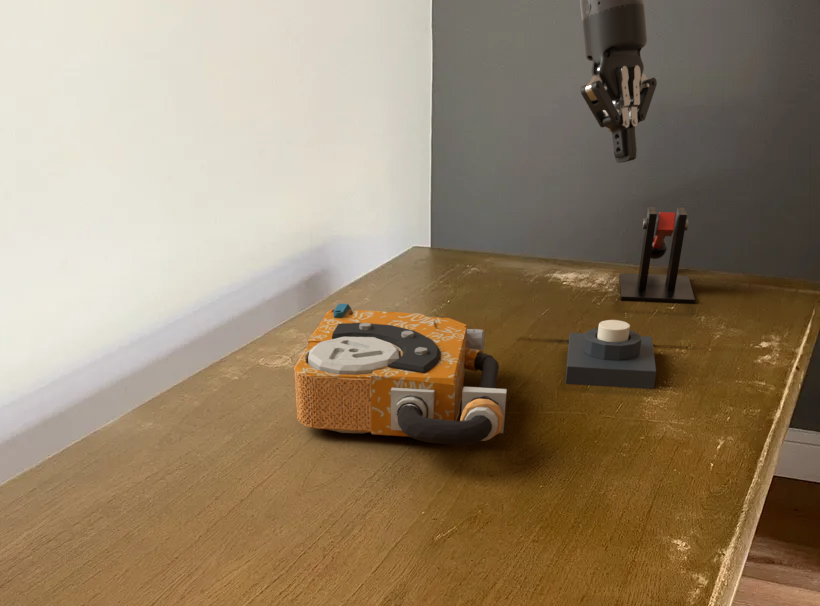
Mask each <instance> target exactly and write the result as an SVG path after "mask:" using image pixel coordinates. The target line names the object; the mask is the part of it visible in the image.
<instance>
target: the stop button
mask: <svg viewBox="0 0 820 606" xmlns="http://www.w3.org/2000/svg"><path fill="white" fill-rule="evenodd" d="M597 328H598V335H597V338H598V339H599V340H603V341H607V342H624V341H628V337H629V330H631V324H629V322H626V321H624V320H623V321H622V320H619V319H606V320H602V321H600V322H599V323H598V327H597Z"/></svg>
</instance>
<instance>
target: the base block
mask: <svg viewBox="0 0 820 606" xmlns="http://www.w3.org/2000/svg"><path fill="white" fill-rule="evenodd" d="M597 335H598V327H594V328H591V329H590V330H587V331H585V332H569V337H568V346H567V355H566V356H567V357H566V371H565V385H579V386H595V387H596V386H597V387H612V388H613V387H615V388H632V389H648V390H649V389H650V390H654V389H655V383H656V377H657V365H656V359H655V358H656V357H655V350H654V343H653V337H652V336H648V335H647V336H645V335H641V334H639V333H638V332H636V331H634V330H631V329H630V330H629V337H628V341H624V342H607V341H603V340H599V339H598V338H597Z"/></svg>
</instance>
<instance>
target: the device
mask: <svg viewBox="0 0 820 606" xmlns="http://www.w3.org/2000/svg"><path fill="white" fill-rule="evenodd" d="M485 333H486V331H485V330H484V329H479V328H468V324H467V323H463V322H461V321H459V320H455V319H453V318H451V317H436V316H426V315H425V314H423V313H416V312H415V313H414V312H399V311H383V310H381V311H380V310H366V309H365V310H361V309H354V311H353V310H352V307H351V306H350V304H349V303H341V302H340V303H337V305H336V307H335V308H334V309H329V310H328V311H327V312H326V313H325V315H324V317H323V319H322V320H321V321H320V323H319V324H318V326H317V328H316V329H315V330H314V331H313V333H312V334H311V336H310V337H309V339H308V340H307V346H306V348H305V349H304V351H303V353H302V354H301V356H300V357H299V359H298V360H297V362H296V363H295V366H294V367H293V368H294V369H293V370H294V371H293V372H294V385H295V386H294V387H295V404H296V420H297V421H298V422H299V423H300V424H301V425H302V426H305V427H307V428H309V429H319V430H328V431H331V432H337V433H341V434H367V433H371V435H378V436H394V437H409V438H411V439H414V440H416V441H421V442H425V443H431V444H440V445H451V446H466V445H471V444H476V443H480V442H487V441H488V440H491V439H492V438H494V437H495V436H496V435H498V434H504V429H505V418H506V417H505V416H506V405H507V404H506V403H507V392H508V389H507V388H497V382H498V375H499V369H500V365H499V362H498V361H497V360H496V358H495V357H494V356H492V355H491V354H488V353H485V352H484V351H485V338H486V336H485V335H486V334H485ZM466 370H467V371H473V372H478V371H480V372H481V377H480V381H479V386H478V387H477V386H464V380H465V374H466ZM460 409H461V415H460ZM459 417H460V419H459ZM458 419H459V420H458Z"/></svg>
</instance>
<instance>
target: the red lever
mask: <svg viewBox="0 0 820 606" xmlns="http://www.w3.org/2000/svg"><path fill="white" fill-rule="evenodd" d="M676 214H677V212H669V211H668V212H667V211H665V212H664V211H659V213H658V214H657V218H656V224H655V232H654V238H653V245H652V251H651V258H650V260H651V259H652V260H658V259H661V258H663V256H664V255H665V254H666V252H667V250H668V244H667V241H666V239H665V238H666V237H672V235H673V233H674V227H675V221H676Z"/></svg>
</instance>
